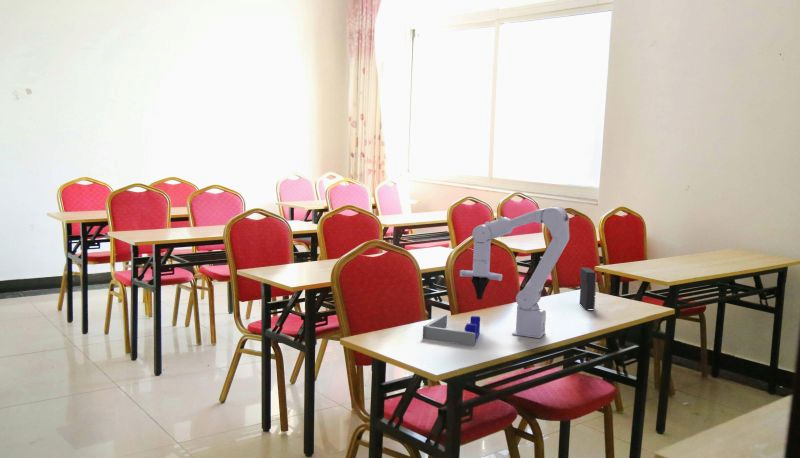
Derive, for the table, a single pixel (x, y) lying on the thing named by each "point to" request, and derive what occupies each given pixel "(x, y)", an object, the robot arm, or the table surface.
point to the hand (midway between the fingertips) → (479, 298)
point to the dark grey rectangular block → (587, 288)
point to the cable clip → (474, 326)
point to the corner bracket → (447, 333)
